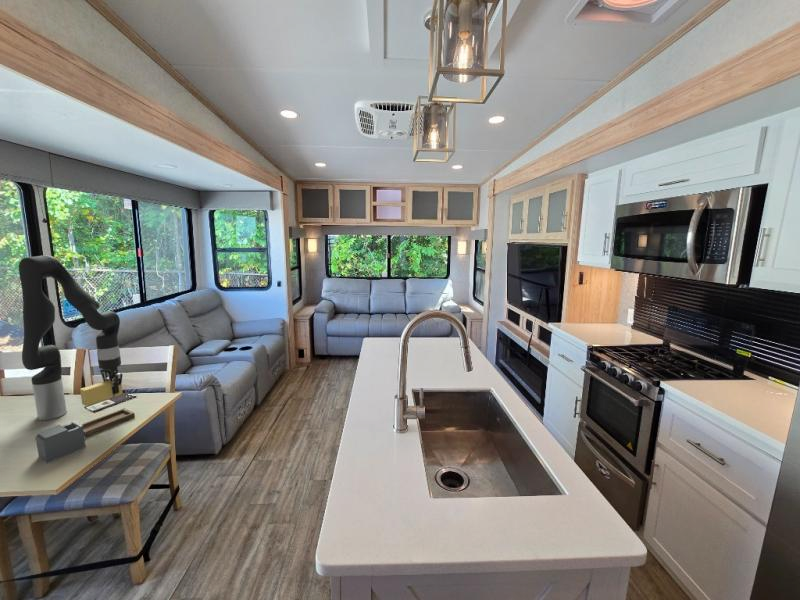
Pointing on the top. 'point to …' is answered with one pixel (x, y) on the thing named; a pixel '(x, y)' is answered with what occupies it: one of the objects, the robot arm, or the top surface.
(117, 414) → the tray
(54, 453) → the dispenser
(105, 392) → the grey-banded yellow bar
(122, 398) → the chocolate bar
